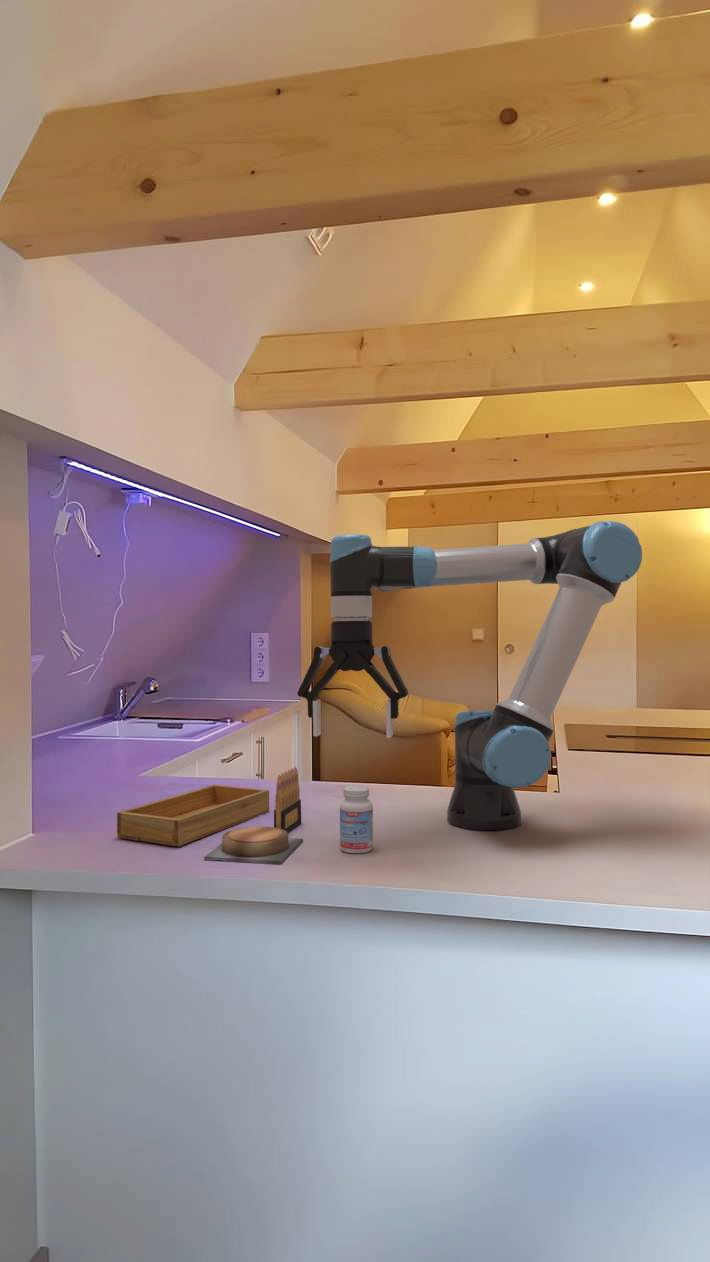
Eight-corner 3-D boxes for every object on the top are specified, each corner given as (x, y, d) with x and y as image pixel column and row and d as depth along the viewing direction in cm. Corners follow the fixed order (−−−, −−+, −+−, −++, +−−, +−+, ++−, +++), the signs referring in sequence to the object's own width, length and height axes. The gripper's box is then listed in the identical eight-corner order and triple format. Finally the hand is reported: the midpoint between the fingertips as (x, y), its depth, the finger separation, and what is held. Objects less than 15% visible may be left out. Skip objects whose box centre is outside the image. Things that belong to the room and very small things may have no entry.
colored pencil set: (282, 837, 150) (282, 775, 150) (273, 836, 151) (273, 775, 151) (301, 823, 160) (301, 765, 160) (293, 823, 161) (292, 765, 161)
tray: (213, 807, 178) (213, 782, 177) (269, 814, 171) (269, 788, 171) (116, 841, 150) (116, 812, 150) (178, 851, 143) (178, 820, 143)
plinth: (302, 841, 147) (302, 825, 147) (280, 864, 133) (280, 846, 133) (232, 838, 150) (232, 822, 150) (204, 860, 136) (204, 842, 136)
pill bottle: (337, 853, 139) (336, 791, 139) (343, 844, 145) (342, 784, 145) (370, 855, 138) (370, 792, 138) (375, 845, 144) (374, 785, 144)
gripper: (422, 619, 143) (423, 734, 143) (292, 620, 148) (293, 731, 148) (416, 618, 135) (418, 740, 136) (279, 620, 141) (281, 737, 141)
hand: (353, 736), depth 142 cm, fingers open, 13 cm apart
